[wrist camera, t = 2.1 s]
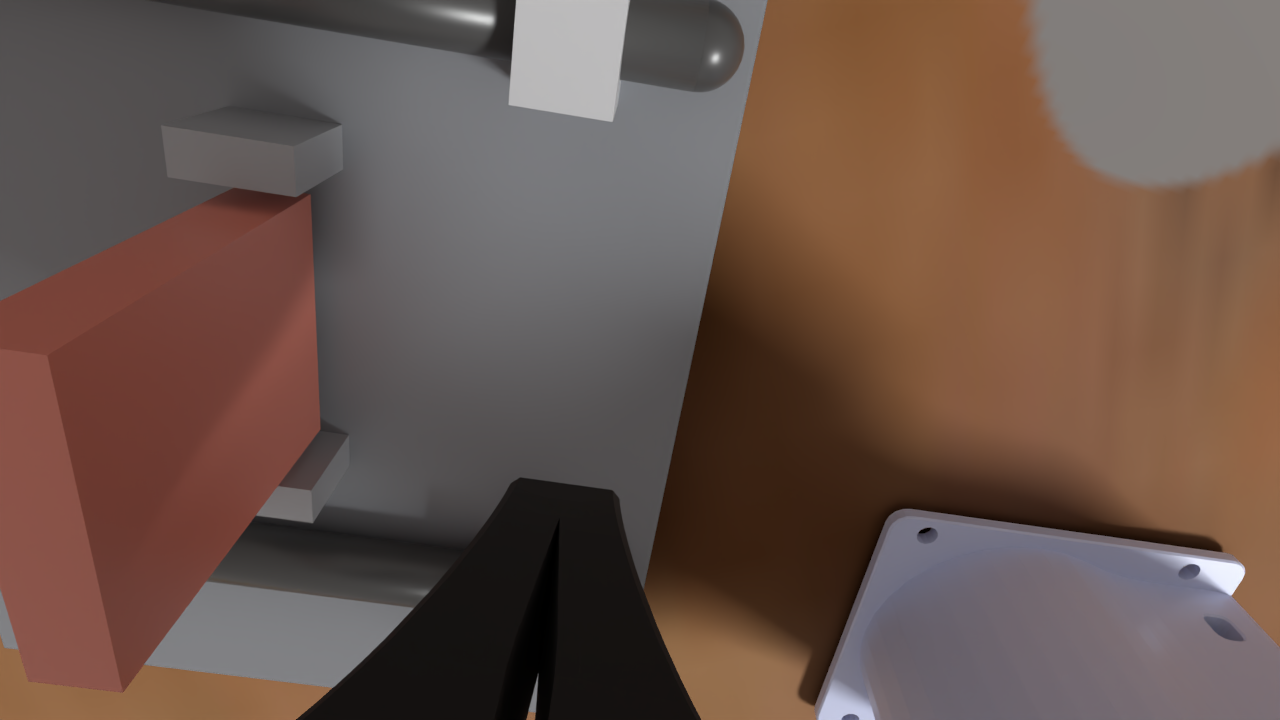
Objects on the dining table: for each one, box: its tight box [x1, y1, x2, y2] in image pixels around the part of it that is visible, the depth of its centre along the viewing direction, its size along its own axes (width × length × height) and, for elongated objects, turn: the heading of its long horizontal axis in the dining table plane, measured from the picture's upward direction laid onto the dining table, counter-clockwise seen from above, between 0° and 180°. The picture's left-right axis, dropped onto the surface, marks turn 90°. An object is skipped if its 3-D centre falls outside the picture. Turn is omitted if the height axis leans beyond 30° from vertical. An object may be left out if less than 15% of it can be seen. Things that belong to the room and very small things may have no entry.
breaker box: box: [0, 0, 767, 712], centre depth 15 cm, size 16×22×4 cm
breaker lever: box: [0, 188, 321, 693], centre depth 12 cm, size 1×5×6 cm, turn 171°
